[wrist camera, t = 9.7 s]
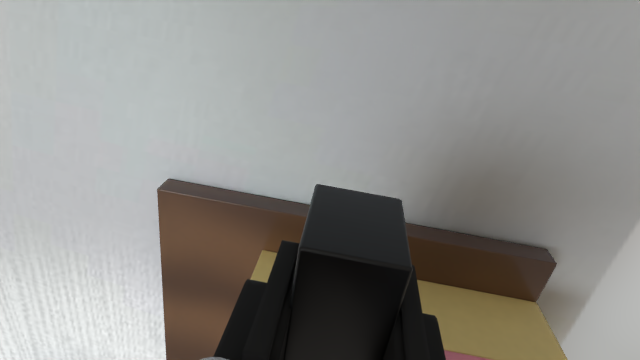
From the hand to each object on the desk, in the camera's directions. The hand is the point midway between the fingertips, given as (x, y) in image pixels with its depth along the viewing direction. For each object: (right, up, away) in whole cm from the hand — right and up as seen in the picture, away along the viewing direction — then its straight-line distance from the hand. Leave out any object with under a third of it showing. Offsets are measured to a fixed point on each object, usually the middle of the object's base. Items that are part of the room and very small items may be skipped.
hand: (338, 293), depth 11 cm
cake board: (0, -4, +12) cm, 13 cm away
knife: (-1, -6, +4) cm, 7 cm away
